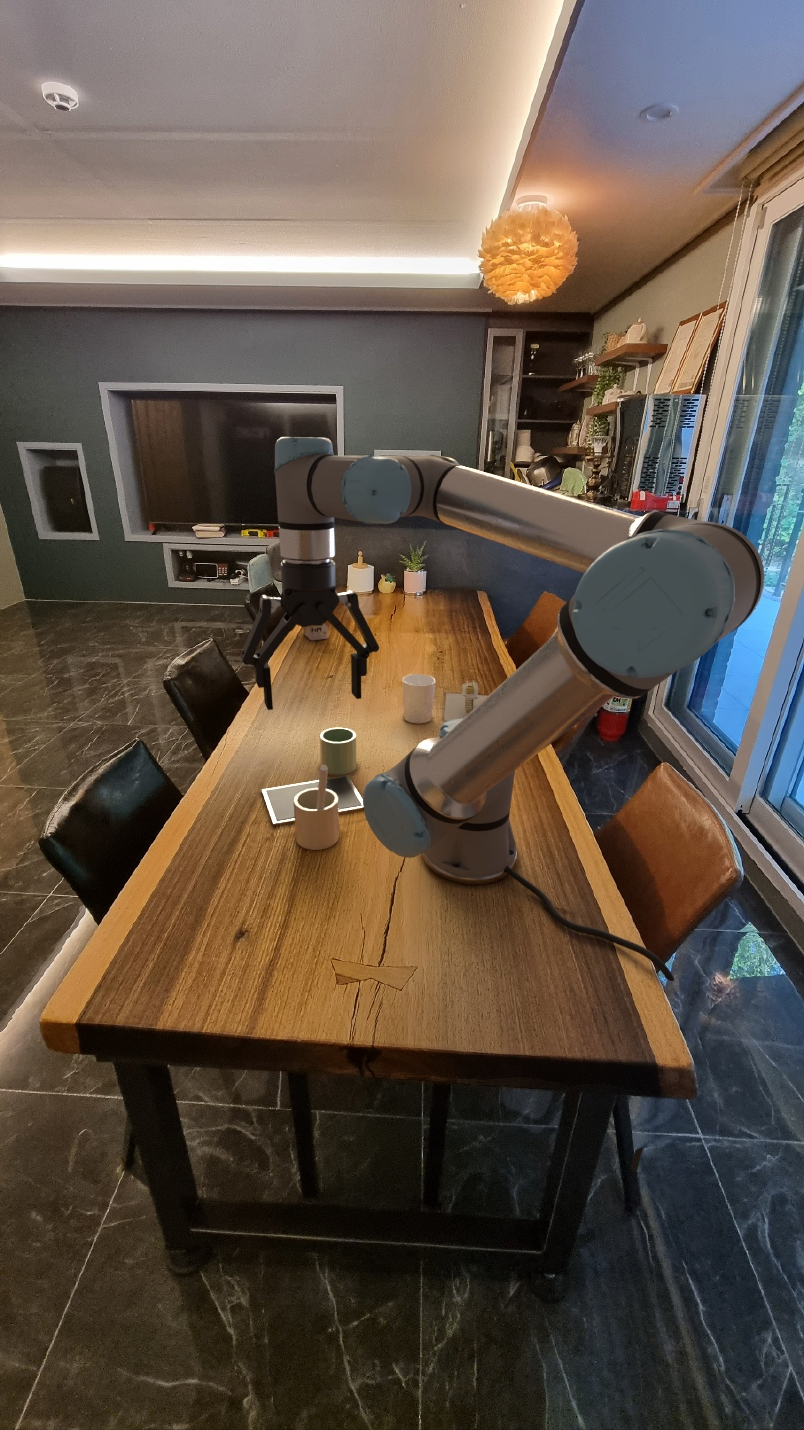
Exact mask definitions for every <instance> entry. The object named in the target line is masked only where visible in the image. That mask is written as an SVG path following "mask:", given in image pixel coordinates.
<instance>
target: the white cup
mask: <svg viewBox="0 0 804 1430" xmlns="http://www.w3.org/2000/svg"><path fill="white" fill-rule="evenodd" d="M401 682H402V685H401V686H402V687H401V688H402V689H401V690H402V708H403V713H402V714H403V719H404V720H405V721H406V722H408V723H411V724H425V723H428V722H430V721H431V719H432V714H433V709H434V699H435V690H436V679H435V678H434V677H433V676H431V675H428V674H421V673H414V674H407V675H405V676H403V677H402V679H401Z"/></svg>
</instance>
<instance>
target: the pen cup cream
mask: <svg viewBox="0 0 804 1430" xmlns="http://www.w3.org/2000/svg"><path fill="white" fill-rule="evenodd" d="M317 796H318V788H311V789H306V790H304V791H301V792H299V793H298V794H297V795H296V796H295V798H294V819H295V822H294V835H295V841H296V843H297V844H298V845H299V846H300V847H301V848H303V849H306V850H310V851H320V850H325V849H328V848H331V847H332V846H334V845H335V844H336V843H337V842H338V840H339V838H340V814H339V802H338V796H337V794H336V793H335V792H333V791H331V790H329V789H326V792H325V803H324V808H322V809H316V807H317Z"/></svg>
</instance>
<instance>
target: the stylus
mask: <svg viewBox="0 0 804 1430" xmlns="http://www.w3.org/2000/svg"><path fill="white" fill-rule="evenodd" d="M327 772H328V767H327V766H324V765H323V766H321V765H320V766H319V775H318V780H319V785H318V796H317V807H316V809H322V808H324V803H325V792H326V782H327V779H328V773H327Z"/></svg>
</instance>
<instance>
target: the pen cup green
mask: <svg viewBox="0 0 804 1430" xmlns="http://www.w3.org/2000/svg"><path fill="white" fill-rule="evenodd" d="M319 755H320V757H319V758H320V767H321V766H323V765H324V766H327V767H328V772H327V774H329V775H334V776H340V775H342V776H343V775H348V774H350V773H352V772H353V771H355V770H356V768H357V763H358V762H357V733H356V732H355V730H353V729H350V728H346V727H330V728H327V729H325V730H323V731H322V732H320V734H319Z"/></svg>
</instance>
